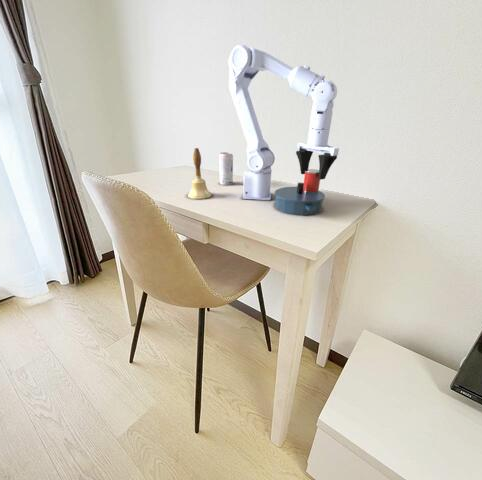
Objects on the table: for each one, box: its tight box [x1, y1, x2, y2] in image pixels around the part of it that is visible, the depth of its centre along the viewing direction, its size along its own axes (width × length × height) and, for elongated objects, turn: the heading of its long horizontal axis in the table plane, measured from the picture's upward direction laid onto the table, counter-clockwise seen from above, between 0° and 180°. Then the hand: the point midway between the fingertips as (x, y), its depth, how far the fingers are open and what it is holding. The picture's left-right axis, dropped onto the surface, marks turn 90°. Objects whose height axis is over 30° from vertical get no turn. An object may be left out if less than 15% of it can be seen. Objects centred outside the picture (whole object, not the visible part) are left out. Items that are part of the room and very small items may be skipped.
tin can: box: [303, 168, 321, 193], centre depth 81 cm, size 5×5×6 cm
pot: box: [274, 195, 324, 216], centre depth 81 cm, size 14×20×4 cm
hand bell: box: [187, 147, 212, 200], centre depth 88 cm, size 8×8×16 cm
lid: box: [274, 182, 326, 203], centre depth 80 cm, size 15×15×4 cm
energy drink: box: [218, 151, 234, 186], centre depth 104 cm, size 5×5×12 cm
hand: (312, 176), depth 80 cm, fingers open, 7 cm apart
